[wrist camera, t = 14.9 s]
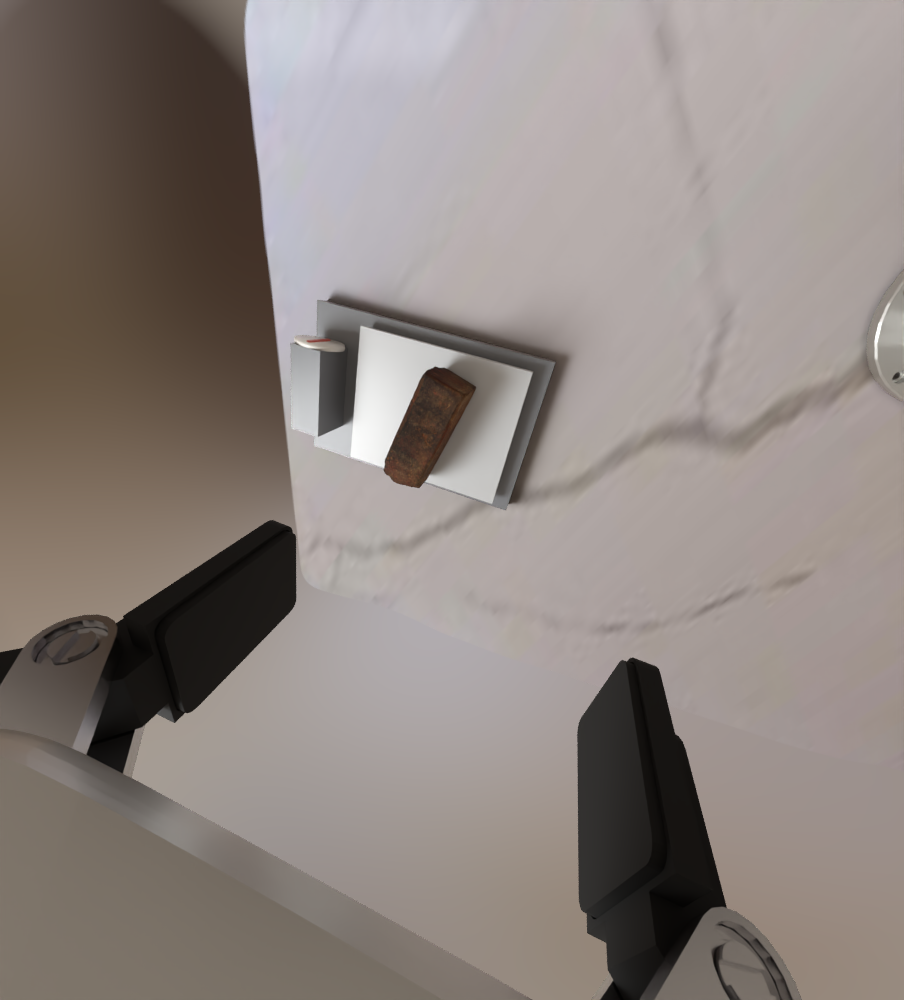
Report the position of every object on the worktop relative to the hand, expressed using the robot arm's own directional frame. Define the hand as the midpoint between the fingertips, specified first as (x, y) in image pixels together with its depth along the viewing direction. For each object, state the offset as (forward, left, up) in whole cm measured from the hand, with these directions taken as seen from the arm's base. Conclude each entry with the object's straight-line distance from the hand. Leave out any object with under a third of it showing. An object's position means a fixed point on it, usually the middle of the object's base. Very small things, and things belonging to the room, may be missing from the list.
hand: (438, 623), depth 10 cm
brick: (+8, +3, -26) cm, 27 cm away
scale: (+11, +3, -28) cm, 31 cm away
